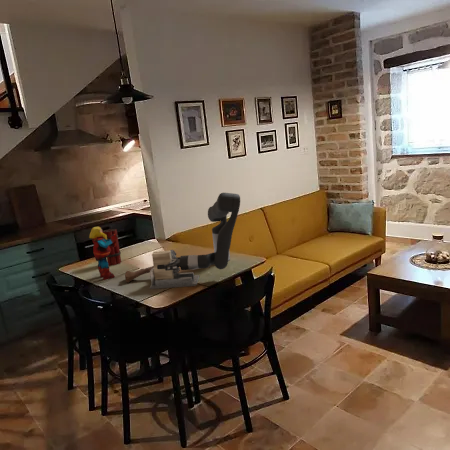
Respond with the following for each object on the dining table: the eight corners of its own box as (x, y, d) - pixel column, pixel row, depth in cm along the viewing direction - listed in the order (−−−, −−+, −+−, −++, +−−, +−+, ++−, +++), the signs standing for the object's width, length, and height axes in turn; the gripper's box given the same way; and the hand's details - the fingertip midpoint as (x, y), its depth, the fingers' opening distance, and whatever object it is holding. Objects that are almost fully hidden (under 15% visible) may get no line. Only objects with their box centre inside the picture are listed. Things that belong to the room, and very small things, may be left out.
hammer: (129, 282, 230) (181, 268, 232) (129, 292, 221) (182, 277, 223) (121, 260, 224) (174, 246, 226) (120, 269, 214) (175, 254, 217)
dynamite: (104, 263, 261) (97, 218, 255) (117, 260, 267) (111, 215, 260) (111, 266, 254) (104, 219, 247) (124, 262, 259) (117, 216, 253)
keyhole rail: (155, 279, 222) (153, 265, 220) (199, 276, 220) (197, 262, 218) (149, 289, 208) (147, 274, 206) (196, 285, 206) (194, 270, 204)
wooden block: (157, 280, 216) (153, 251, 213) (174, 279, 216) (170, 250, 212) (155, 283, 212) (151, 254, 209) (172, 282, 212) (169, 252, 208)
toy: (126, 276, 231) (119, 225, 225) (100, 283, 223) (92, 230, 217) (118, 270, 243) (111, 222, 237) (93, 277, 236) (85, 226, 230)
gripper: (190, 251, 217) (161, 253, 218) (187, 259, 203) (155, 261, 204) (192, 265, 219) (162, 267, 220) (188, 273, 205) (157, 275, 206)
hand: (159, 264), depth 212 cm, fingers open, 8 cm apart
